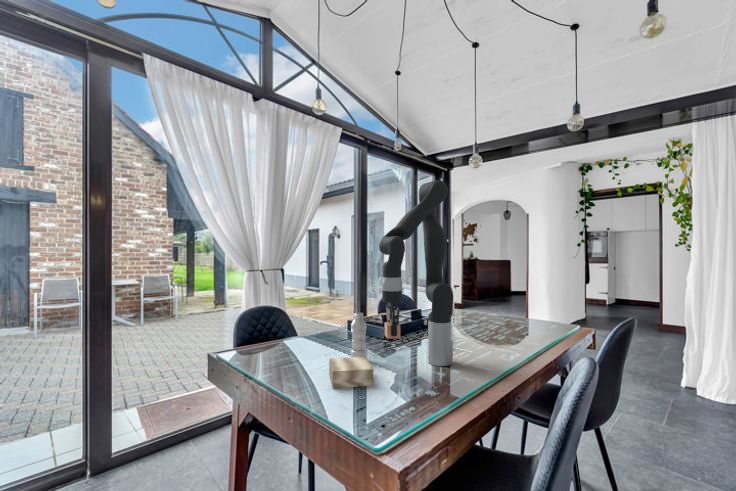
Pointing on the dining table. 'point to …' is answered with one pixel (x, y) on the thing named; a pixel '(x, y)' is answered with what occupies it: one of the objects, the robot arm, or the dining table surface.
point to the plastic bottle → (358, 336)
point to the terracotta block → (388, 331)
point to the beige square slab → (350, 372)
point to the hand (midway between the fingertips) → (392, 334)
